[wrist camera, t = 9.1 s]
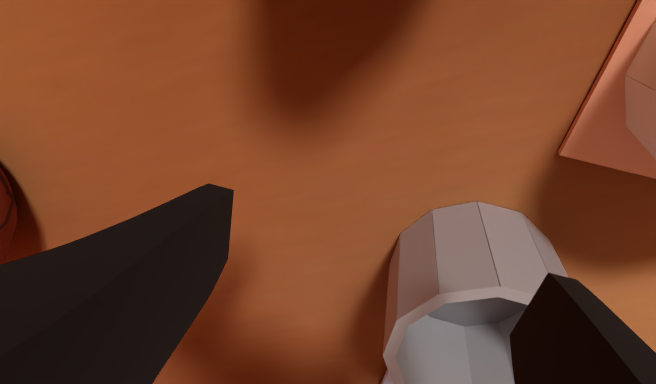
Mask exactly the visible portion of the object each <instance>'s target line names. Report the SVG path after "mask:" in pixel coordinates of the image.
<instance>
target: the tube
mask: <svg viewBox="0 0 656 384" xmlns="http://www.w3.org/2000/svg"><path fill="white" fill-rule="evenodd" d="M557 153H558V154H559V155H560V156H565V157H569V158H573V159H577V160H581V161H585V162H589V163H593V164H597V165H601V166H605V167H609V168H614V169H618V170H622V171H626V172H630V173H634V174H638V175H642V176H646V177H650V178H654V179H656V0H638V1H637V3H636V5H635V7H634V8H633V10H632V12H631V14H630V16H629V18H628V20H627V22H626V24H625V25H624V27H623V29H622V31H621V33H620V35H619V37H618V39H617V41H616V42H615V44H614V46H613V48H612V50H611V52H610V54H609V56H608V58H607V60H606V61H605V63H604V65H603V67H602V69H601V71H600V73H599V75H598V77H597V78H596V80H595V82H594V84H593V86H592V88H591V90H590V92H589V94H588V95H587V97H586V99H585V101H584V103H583V105H582V107H581V109H580V111H579V112H578V114H577V116H576V118H575V120H574V122H573V124H572V126H571V128H570V130H569V131H568V133H567V135H566V137H565V139H564V141H563V143H562V145H561V147H560V148H559V150H558V152H557Z"/></svg>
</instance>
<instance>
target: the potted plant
mask: <svg viewBox="0 0 656 384" xmlns="http://www.w3.org/2000/svg"><path fill="white" fill-rule="evenodd" d="M16 224H17V208H16V204H15V200H14V196H13V192H12V188H11V186H10V183H9V181H8V179H7V177H6V175H5V174H4V172H3V171H2V169H1V168H0V265H1V264H2V263H3V261H4V260H5V258H6V256H7V253H8V250H9V247H10V244H11V241H12V238H13V235H14V232H15V229H16Z"/></svg>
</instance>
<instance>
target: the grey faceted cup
mask: <svg viewBox="0 0 656 384" xmlns="http://www.w3.org/2000/svg"><path fill="white" fill-rule="evenodd" d="M548 272H549V273H553V274H556V275H560V276H564V277H568V275H567V273H566V271H565V269H564V267H563V265H562V263H561V261H560V259H559V257H558V255H557V253H556V251H555V249H554V247H553V245H552V243H551V241H550V240H549V239H548V238H547V237H546V236H545V235H544V234H543V233H542V232H541V231H540V230H539V229H538V228H537V227H536V226H535V225H534V224H533V223H532V222H531V221H530V220H529V219H528V218H527V217H526V216H525V215H524V214H522V213H521V212H518V211H514V210H510V209H506V208H502V207H498V206H494V205H490V204H486V203H482V202H478V201H477V202H476V201H475V202H470V203H465V204H459V205H454V206H449V207H443V208H438V209H433V210H431V211H429V212H428V213H427V214H425V215H424V216H423V217H422V218H420V219H419V220H418V221H416V222H415V223H414V224H412V225H411V226H410V227H408V228H407V229H406V230H405V231H403V232H402V233H401V234H400V236H399V239H398V241H397V244H396V247H395V250H394V253H393V256H392V259H391V261H390V264H389V276H388V290H387V304H386V318H385V332H384V345H383V358H384V360H385V363H386V365H387V368H388V371H389V373H390V376H391V378H392V381H393V384H515V382H514V376H513V368H512V359H511V347H510V333H511V332H512V330H513V329H514V327H515V325H516V324H517V322H518V321H519V319H520V317H521V316H522V314H523V312H524V311H525V309H526V308H527V306H528V304H529V303H530V301H531V300H532V298H533V296H534V295H535V293H536V291H537V290H538V288H539V287H540V285H541V283H542V282H543V280H544V279H545V277H546V275H547V274H548ZM568 278H569V277H568Z"/></svg>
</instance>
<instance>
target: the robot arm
mask: <svg viewBox="0 0 656 384" xmlns="http://www.w3.org/2000/svg"><path fill="white" fill-rule="evenodd" d="M233 193H234V190H231V189H227V188H224V187H220V186H216V185H212V184H206V185H204V186H201V187H199V188H197V189H194V190H192V191H190V192H188V193H186V194H183V195H181V196H179V197H177V198H175V199H173V200H171V201H169V202H166V203H164V204H162V205H160V206H158V207H155V208H153V209H151V210H149V211H147V212H144V213H142V214H140V215H138V216H136V217H133V218H131V219H129V220H126V221H124V222H121V223H119V224H116V225H114V226H111V227H109V228H106V229H104V230H101V231H99V232H96V233H94V234H91V235H89V236H86V237H84V238H81V239H79V240H76V241H73V242H71V243H68V244H65V245H62V246H59V247H56V248H53V249H50V250H47V251H44V252H41V253H38V254H35V255H31V256H28V257H25V258H22V259H19V260H15V261H12V262H9V263H5V264H1V265H0V384H152V383H153V382H154V380H155V378H156V377H157V375H158V374H159V372H160V371H161V369H162V368H163V366H164V365H165V363H166V362H167V360H168V359H169V357H170V356H171V354H172V353H173V351H174V350H175V348H176V347H177V345H178V344H179V342H180V341H181V339H182V338H183V336H184V334H185V333H186V331H187V330H188V328H189V327H190V325H191V324H192V322H193V321H194V319H195V318H196V316H197V315H198V313H199V312H200V310H201V309H202V307H203V305H204V304H205V302H206V301H207V299H208V298H209V296H210V294H211V292H212V290H213V288H214V287H215V285H216V283H217V281H218V279H219V276H220V274H221V272H222V270H223V268H224V266H225V264H226V262H227V260H228V252H229V240H230V229H231V217H232V205H233ZM510 347H511V359H512V368H513V376H514V382H515V384H656V353H655V352H654V351H653V350H652V349H651V348H650V347H649V346H648V345H647V344H646V343H645V342H644V341H643V340H642V339H640V338H639V337H638V336H637V335H636V334H635V333H634V332H633V331H632V330H631V329H630V328H629V327H628V326H627V325H626V324H625V323H624V322H623V321H622V320H621V319H620V318H619V317H618V316H617V315H615V314H614V313H613V312H612V311H611V310H610V309H609V308H608V307H607V306H606V305H605V304H604V303H603V302H602V301H601V300H599V299H598V298H597V297H596V296H595V295H594V294H593V293H592V292H591V291H589V290H588V289H587V288H586V287H585V286H584V285H582V284H581V283H580V282H579V281H577V280H576V279H572V278H568V277H564V276H560V275H556V274H553V273H549V272H548V274H547V275H546V277H545V279H544V280H543V282H542V283H541V285H540V287H539V288H538V290H537V291H536V293H535V295H534V296H533V298H532V300H531V301H530V303H529V304H528V306H527V308H526V309H525V311H524V312H523V314H522V316H521V317H520V319H519V321H518V322H517V324H516V325H515V327H514V329H513V330H512V332H511V333H510ZM381 384H393V381H392V378H391V376H390V373H389V371H388V368H387V371H386V373H385V375H384V378H383V380H382V382H381Z"/></svg>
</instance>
